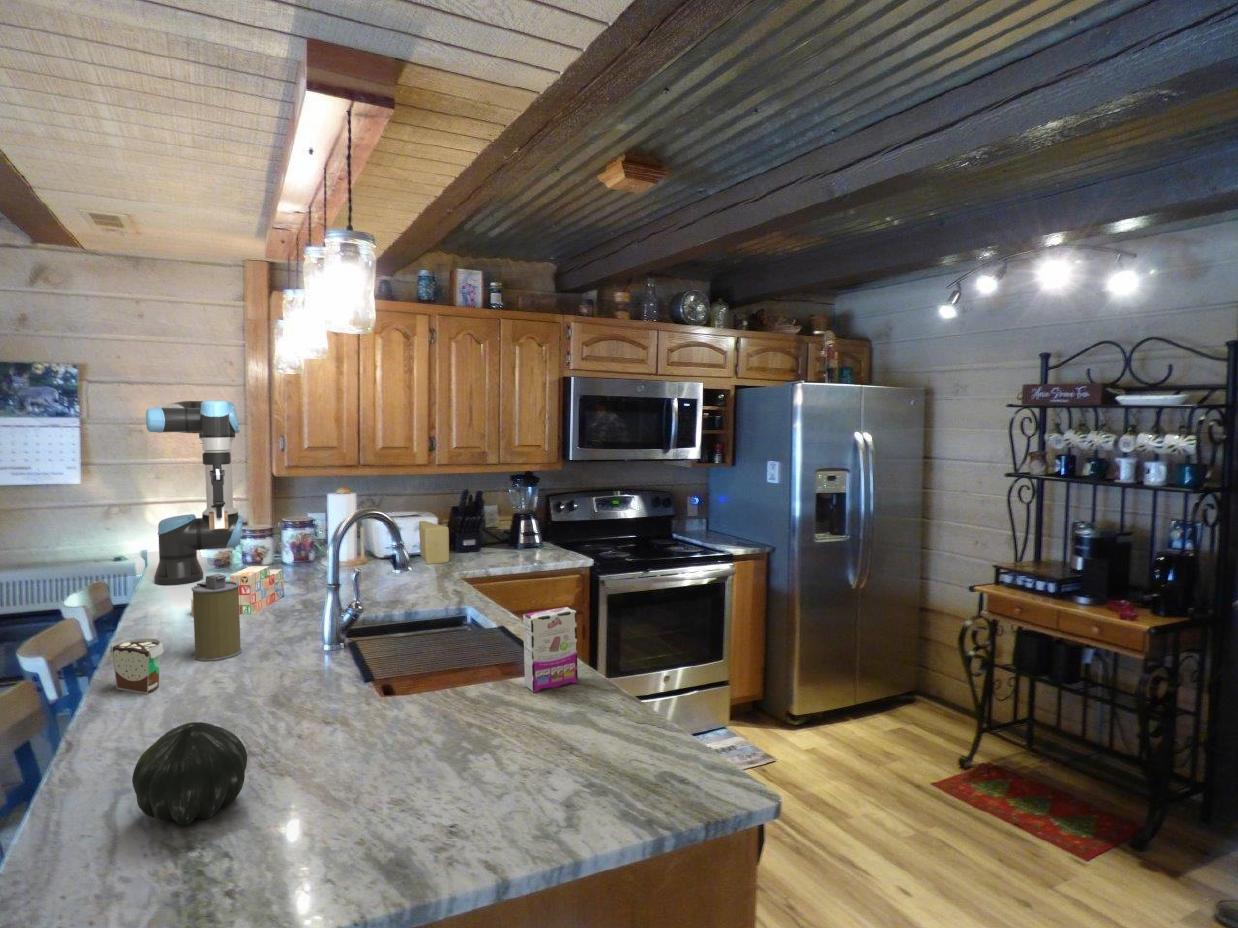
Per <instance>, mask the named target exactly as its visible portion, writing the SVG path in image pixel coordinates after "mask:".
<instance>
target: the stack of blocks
mask: <svg viewBox="0 0 1238 928" xmlns="http://www.w3.org/2000/svg"><path fill="white" fill-rule="evenodd" d="M229 581H233V582H238V583H239V587H238V588H239V615H253V614H255V613H256V612H258V611H261V610H262V609H265V608H267V606H268V607H269V605H271V604H273V603H275V602H277V601H279V600H280V599H283V598H284V597H285V588H284V587H285V586H284V585H285V581H284V572H283V569H274V568H273V569H270V565H269V566H268V565H263V566H261V565H259V566H258V565H257V566H254V565H253V566H252V565H251V566H248V567H246V568H244V569H243V568H242V569H241V570H239V571H237V572H234V573H232V574H229Z"/></svg>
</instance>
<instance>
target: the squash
mask: <svg viewBox="0 0 1238 928" xmlns="http://www.w3.org/2000/svg"><path fill="white" fill-rule="evenodd" d="M245 747H246V746H244V744H243V742H242V740H241V739H240V738H239V737H238V736H236V734H234V733H233V732H231V731H230V730H228V729H225V728H223V727H220V726H218V725H214V724H212V723H208V722H202V721H198V722H197V721H196V722H195V721H194V722H193V721H192V722H188V723H184V724H181V725H179V726H177V727H175V728H172V729H170V730H168V731H167V732H165V733H164V734H163V735H162V736H160V737H159V738H158V739H157V740H156V741H155V742H154V743H152V745H150V746H149V747H148V748H147V749H145V751H144V752H143V753H142V754H141V756H139V759H138V761H137V762H136V765H135V767H134V769H133V773H132V778H131V779H132V780H131V781H132V787H133V790H134V793H135V794H136V795H135V796H136V802H137V805H138V807H139V809H140V811H141V812H142V813H143V814H144V815H145V816H147V817H150V818H153V819H155V818H156V819H159V820H160V821H163V822H164V821H167V822H168V821H172V820H173V821H175V823H177V824H179V825H181V826H187V825H190V824H191V823H192V822H194V821H195V819H196V818H199V819H203V820H206V819H207V820H208V819H210V818H211V817H212V816H214V815H215V814H216V813H217V812H218V810H219V809H222V808H225V807H227V806H229V805H231V803H233V802H234V801H235V800H236V798H237V797H238V796H239V795H240V793H241V791H242V789H243V786H244V782H245V778H246V777H245V776H246V775H245V773H246V772H245V771H246V769H247V765H248V754H247V750H246V748H245Z"/></svg>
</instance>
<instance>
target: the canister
mask: <svg viewBox="0 0 1238 928" xmlns="http://www.w3.org/2000/svg"><path fill="white" fill-rule="evenodd" d="M226 579H227V576H226V575H225V574H220V573H214V574H211V575H207V576H205V581H203V582H199V583H196V585H194V586H193V587H191V588H190V589H191V592H192V599H193V610H194V616H193V633H194V635H193V636H194V655H193V658H194V659H195V661H196V660H197V661H200V662H216V661H221V660H226V659H231V658H233V657H236V656H238V655H239V654H241V653H242V651H243V650H242V647H241V622H240V619H241V618H240V614H239V588H238V587H239V583H238V582H233V581H230V580H229V581H227V580H226Z"/></svg>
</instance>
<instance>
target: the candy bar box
mask: <svg viewBox="0 0 1238 928" xmlns="http://www.w3.org/2000/svg"><path fill="white" fill-rule="evenodd" d="M577 621H578V620H577V611H576V610H575V609H573V608H571V607H569V606H564V607H557V608H551V609H546V610H540V611H534V612H529V613H524V614H522V622H523V623H522V624H523V652H524V653H523V658H524V659H523V660H524V661H523V663H524V665H523V666H524V686H525V688H527V689H528V690H530V691H531V692H533V693H538V692H542V691H546V690H551V689H555V688H560V687H564V686H569V685H572V684H577V683H578V682H579V681H578V680H579V679H578V676H579V675H578V673H579V671H578V669H579V668H578V630H577V629H578V628H577V627H578V626H577V625H578V624H577V623H578V622H577Z"/></svg>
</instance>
